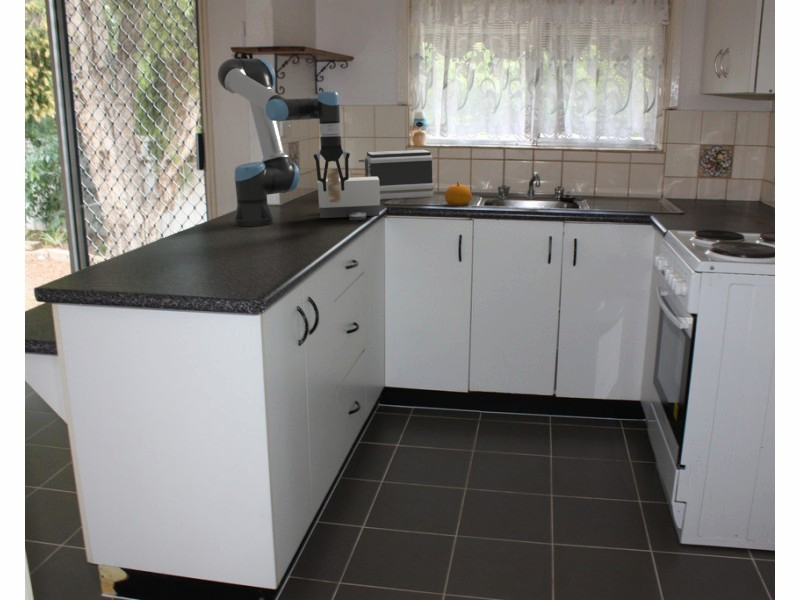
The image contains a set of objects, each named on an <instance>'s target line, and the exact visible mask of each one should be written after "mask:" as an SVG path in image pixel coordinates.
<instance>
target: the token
mask: <svg viewBox="0 0 800 600" xmlns="http://www.w3.org/2000/svg"><path fill="white" fill-rule="evenodd" d="M348 219H349V220H350V219H351V221H362V219H363V220H366V219H367V216H366V211H364V210H354V211H349V217H348Z"/></svg>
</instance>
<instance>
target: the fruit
mask: <svg viewBox="0 0 800 600" xmlns="http://www.w3.org/2000/svg"><path fill="white" fill-rule="evenodd" d="M472 197H473V196H472V192H471V189H470V187H468V186H467V185H464V184H459V181H457V183H456V184H451V185H450V186H449V187H448V188H447V189H446V190H445V193H444V200H445V202H446V203H447V204H448V205H450V206H457V207H458V206H459V207H460V206H466V205H468V204H469V203H470V202H471V200H472Z"/></svg>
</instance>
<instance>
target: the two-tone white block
mask: <svg viewBox="0 0 800 600" xmlns="http://www.w3.org/2000/svg"><path fill="white" fill-rule="evenodd" d="M326 182H328V179H326ZM339 182H341V180H340V177H339ZM317 191H318V192H317V193H318V194H317V195H318V207H319V215H320V217H319V218H320V219H327V218H328V219H330V218H349V211H354V210H364V211H366V217H369V216H371V217H375V216H380V206H381V200H380V185H379V178H378V177H365V176H358V177H349V179H348V180H346V181H344V191H341V193H342V200H340V202H329V201H327V191H325V192H324V191H323V183H322V182H320V181H318V180H317Z"/></svg>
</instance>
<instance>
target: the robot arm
mask: <svg viewBox="0 0 800 600" xmlns="http://www.w3.org/2000/svg"><path fill="white" fill-rule="evenodd" d="M217 70H218V71H217V80H218V82H219V84H220V86H221V87H222V88H223V89H224V90H226V91H228V92H229V93H231V94H238V95H239V96H240V97H242V98H244V99H246V100H248V103H249V105H250V109H251V114H252V118H253V121H254V127H255V129H256V134H257V137H258V141H259V145H260V149H261V154H262V157H263V158H262V160H261V161H254V162H247V163H243V164H239V165H238V166H236V167H235V169H234V181H235V182H234V183H235V191H236V209H235V213H234V218H233V223H234V225H235V226H236V227H259V226H267V225H271V224H273V223H274V216H273V214H272V211H271V209H270V206H269V203H268V195H269V196H270V195H274V194H286V193H288V192H293V191H294V190H295V189H296V188H297V187H298V185H299V182H300V170H299V167H298V165H296V163H295V162H292V161H291V158H290V155H288V154H286V152H285V151H284V147H283V142H282V138H281V134H280V130H279V126H278V122H285V121H286V122H287V121H301V120H302V121H303V120H318V121H319V122H318V124H319V126H318V127H319V135H320V138H319V139H320V151H319V152H317V153H315V154H313V158H314V160H315V167H316V177H317V182H318V181H320V182H322V183H323V191H324V192H325V191H327V201H329V191H328V182H326V178H328V176H327V169H329V163H331V162H334V163H335V164H336V168H337V169H338V176H339V178H340V180H341V182H339V192H340V200H342V193H341V191H344V181H346V180H348V179H349V178H350V177H349V174H350V173H349V172H350V171H349V158H350V154H351V153H350V152H346V151H344V150H343V147H342V136H341V134H342V133H341V131H342V130H341V117H340V116H341V115H340V113H341V112H340V100H339V93H338V92H337V91H318V93H317V97H305V98H303V97H302V98H285V97H283V96H281V95H280V94H278V93H277V92H274V91H273V87H274V86H275V84H276V73H275V70H274V67H273V66H272V64H271V63H270V61H267V60H266V59H263V58H258V57H257V58H229V59H227V60H224V62H222V63H221V64H220V66H219V68H218V69H217ZM342 155H343V158H344V175H343V171H342V168H341V164H340V158H341V156H342ZM321 157H322V158H323V160H325V162H324V169H323V175H321V165H320V159H321ZM322 176H323V177H322Z"/></svg>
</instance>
